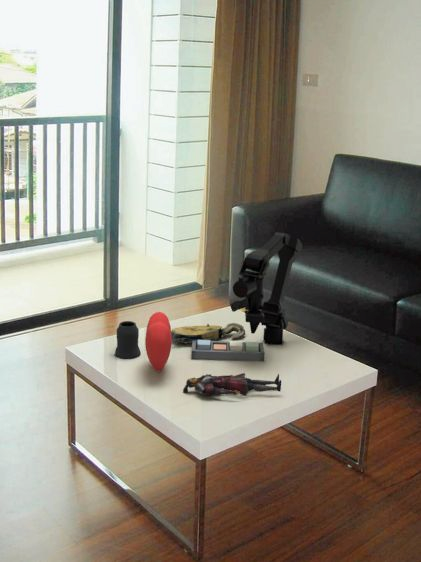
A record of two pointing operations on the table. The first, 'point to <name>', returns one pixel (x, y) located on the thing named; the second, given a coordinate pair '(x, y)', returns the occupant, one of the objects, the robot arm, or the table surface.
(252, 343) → the key sage
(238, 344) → the key cream
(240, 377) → the figurine
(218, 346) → the key terracotta
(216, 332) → the pulley block
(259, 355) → the gray cubby shelf
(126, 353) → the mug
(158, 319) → the heart
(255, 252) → the robot arm
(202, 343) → the key blue
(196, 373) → the table surface
